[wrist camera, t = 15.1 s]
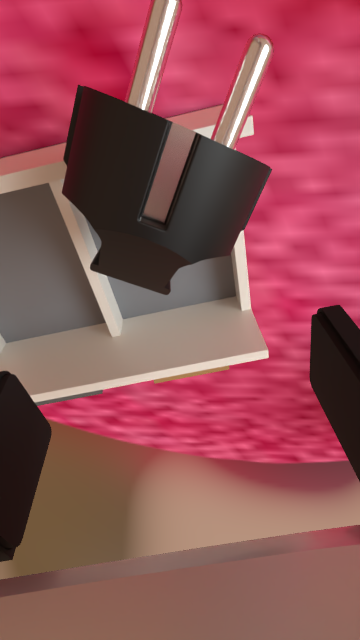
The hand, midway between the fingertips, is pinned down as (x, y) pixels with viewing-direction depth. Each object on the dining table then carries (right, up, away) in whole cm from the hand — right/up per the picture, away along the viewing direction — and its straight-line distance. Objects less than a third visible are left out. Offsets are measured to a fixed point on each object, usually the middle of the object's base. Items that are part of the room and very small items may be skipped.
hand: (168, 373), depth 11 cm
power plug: (0, +11, +8) cm, 13 cm away
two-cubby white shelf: (-5, +6, +10) cm, 13 cm away
